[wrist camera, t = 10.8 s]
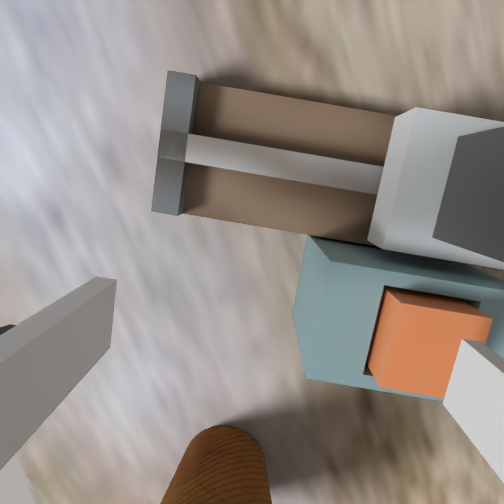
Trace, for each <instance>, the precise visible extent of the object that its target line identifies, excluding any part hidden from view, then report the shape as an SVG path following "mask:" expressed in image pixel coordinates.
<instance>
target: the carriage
mask: <svg viewBox="0 0 504 504" xmlns="http://www.w3.org/2000/svg"><path fill="white" fill-rule="evenodd" d="M367 240H368V241H369V242H371V243H373V244H375V245H376V246H378V247H380V248H382V249H384V250H390V251H396V252H402V253H408V254H414V255H420V256H426V257H431V258H437V259H443V260H449V261H455V262H461V263H467V264H473V265H479V266H484V267H490V268H496V269H502V270H504V122H501V121H495V120H489V119H483V118H477V117H471V116H466V115H460V114H454V113H448V112H442V111H436V110H431V109H425V108H419V107H415V108H413V109H411V110H409V111H407V112H405V113H403V114H401V115H398V116H396V117H395V120H394V124H393V128H392V133H391V137H390V142H389V146H388V151H387V155H386V159H385V164H384V168H383V173H382V177H381V181H380V186H379V190H378V195H377V199H376V204H375V208H374V212H373V217H372V221H371V226H370V230H369V234H368V239H367Z"/></svg>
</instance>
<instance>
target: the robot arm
mask: <svg viewBox="0 0 504 504" xmlns="http://www.w3.org/2000/svg"><path fill="white" fill-rule="evenodd" d="M116 281H117V280H114V279H108V278H102V277H95V278H93V279H92V280H90V281H88V282H87V283H85V284H83V285H82V286H80V287H79V288H77V289H75V290H74V291H72V292H70V293H69V294H67V295H65V296H64V297H62V298H61V299H59V300H57V301H56V302H54V303H52V304H51V305H49V306H47V307H46V308H44V309H42V310H41V311H39V312H38V313H36V314H34V315H33V316H31V317H29V318H28V319H26V320H24V321H23V322H21V323H20V324H18V325H11V324H10V325H7V326H4V327H0V470H1V469H2V468H3V467H4V466H5V464H6V463H7V462H8V461H9V460H10V459H11V458H12V457H13V456H14V454H15V453H16V452H17V451H18V450H19V449H20V448H21V447H22V446H23V444H24V443H25V442H26V441H27V440H28V439H29V438H30V437H31V435H32V434H33V433H34V432H35V431H36V430H37V429H38V428H39V426H40V425H41V424H42V423H43V422H44V421H45V420H46V419H47V417H48V416H49V415H50V414H51V413H52V412H53V411H54V410H55V409H56V407H57V406H58V405H59V404H60V403H61V402H62V401H63V400H64V398H65V397H66V396H67V395H68V394H69V393H70V392H71V391H72V389H73V388H74V387H75V386H76V385H77V384H78V383H79V382H80V381H81V379H82V378H83V377H84V376H85V375H86V374H87V373H88V372H89V370H90V369H91V368H92V367H93V366H94V365H95V364H96V363H97V361H98V360H99V359H100V358H101V357H102V356H103V355H104V354H105V352H106V351H107V350H108V349H109V348H110V343H111V332H112V322H113V312H114V302H115V292H116ZM443 405H444V406H445V408H446V409H447V410H448V411H449V413H450V414H451V415H452V417H453V418H454V419H455V421H456V422H457V423H458V424H459V426H460V427H461V428H462V430H463V431H464V432H465V433H466V435H467V436H468V437H469V439H470V440H471V441H472V443H473V444H474V445H475V446H476V448H477V449H478V450H479V452H480V453H481V454H482V456H483V457H484V458H485V459H486V461H487V462H488V463H489V465H490V466H491V467H492V468H493V470H494V471H495V472H496V474H497V475H498V476H499V478H500V479H501V480H502V481H503V483H504V359H503V358H502V357H501V356H500V355H498V354H497V353H496V352H494V351H493V350H492V349H490V348H489V347H488V346H487V345H485V344H484V343H483V342H479V341H473V340H467V339H462V340H461V344H460V347H459V351H458V354H457V357H456V361H455V364H454V367H453V371H452V374H451V377H450V381H449V384H448V387H447V391H446V394H445V397H444V401H443Z"/></svg>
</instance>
